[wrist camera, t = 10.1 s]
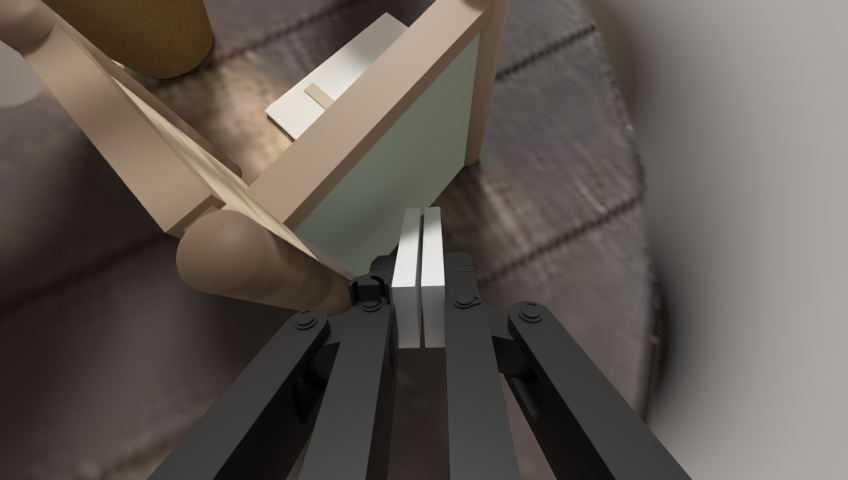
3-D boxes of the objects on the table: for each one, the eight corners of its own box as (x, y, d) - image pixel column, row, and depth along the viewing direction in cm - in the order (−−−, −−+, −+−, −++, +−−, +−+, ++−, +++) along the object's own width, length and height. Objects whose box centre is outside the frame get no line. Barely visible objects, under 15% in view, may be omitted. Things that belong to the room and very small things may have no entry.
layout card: (266, 113, 27) (263, 109, 27) (386, 16, 30) (386, 10, 29) (363, 204, 24) (361, 201, 24) (487, 88, 27) (488, 83, 26)
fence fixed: (206, 178, 26) (-32, 17, 13) (232, 157, 26) (27, -21, 13) (341, 327, 22) (194, 310, 9) (369, 298, 22) (269, 243, 9)
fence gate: (370, 287, 22) (277, 220, 10) (346, 267, 22) (228, 179, 10) (485, 150, 24) (529, -44, 12) (461, 135, 25) (480, -66, 13)
